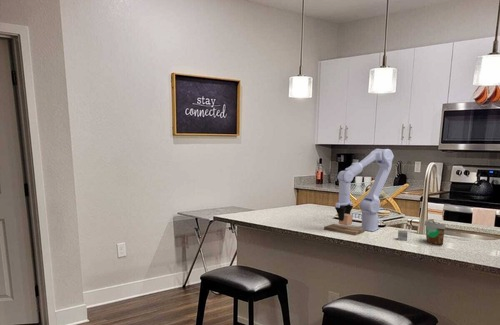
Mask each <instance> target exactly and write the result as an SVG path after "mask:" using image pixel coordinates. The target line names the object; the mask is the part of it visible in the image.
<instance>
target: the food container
mask: <svg viewBox="0 0 500 325" xmlns="http://www.w3.org/2000/svg"><path fill="white" fill-rule="evenodd" d="M434 220H435V219H433V218H431V219H426V220H425V221H424V223H423V224H424V226H425V235H426V236H425V237H426V243H428V244H429V245H435V246H442V245H443V246H444V236H445V230H446V225H445V223H443V224H442V223H440V222H437V221H434Z"/></svg>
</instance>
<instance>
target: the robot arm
mask: <svg viewBox="0 0 500 325" xmlns="http://www.w3.org/2000/svg"><path fill="white" fill-rule="evenodd" d="M394 157H395V156H394V154H393V151H392V150H391V149H389V148H384V149H383V148H375V149H374V150H372V151H370V153H369V154H368V155H367V156H365V157H364V158H362V160H360V161H359V162H352V163H351V165H350V166H348V167H346V168H345V169H344V170H341V171H339V172H338V174H337V176H336V178H337V180H338V185H339V186H338V202H336V203H335V206H334V209H335V210H336V214H337V217H338V221H339V220H341V221H343V219H344V213H346V214H351V212H352V210H353V208H354V205H353V203H354V202H353V200H351V183H352V181H353V180H354V177H356V176H357V175H359V174H360V173H362V172H363V169H364V168H365V167H366V166H368V165H370V164H372V163H373V162H374V161H375V162H376V163H377V165H378V166H379V169H378V171H377V173H376V176H375V178H374V180H373V182H372V185H371V187H370V190H369V191H368V194H365V195H364V196H363V199H362V200H360V202H359V209H360V210H361V227H359V228H360V229H364V231H367V232H368V231H369V232H375V231H377V230H379V229H380V227H379V216H378V212H379V210H380V204H381V200H380V195H381V193H382V192H383V191H382V190H383V188H384V185H385V184H386V181H387V179H388V177H389V174H390V172H391V169H392V165H393V160H394Z"/></svg>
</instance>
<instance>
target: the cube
mask: <svg viewBox="0 0 500 325" xmlns="http://www.w3.org/2000/svg"><path fill="white" fill-rule="evenodd" d="M352 224H353V214H351V213H350V214H346V213H344V219H343V221H341V220H339V219H338V225H343V226H350V225H352Z"/></svg>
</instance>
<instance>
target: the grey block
mask: <svg viewBox="0 0 500 325" xmlns="http://www.w3.org/2000/svg"><path fill="white" fill-rule="evenodd" d="M397 240H398V241H403V242H407V241H408V230H399V229H398V230H397Z"/></svg>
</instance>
